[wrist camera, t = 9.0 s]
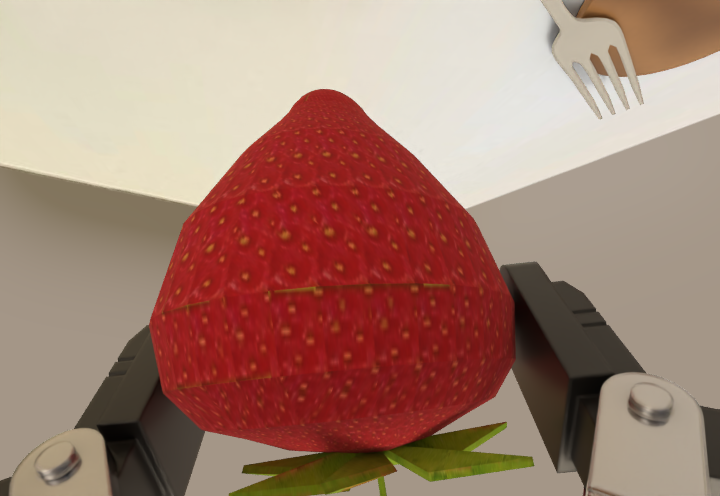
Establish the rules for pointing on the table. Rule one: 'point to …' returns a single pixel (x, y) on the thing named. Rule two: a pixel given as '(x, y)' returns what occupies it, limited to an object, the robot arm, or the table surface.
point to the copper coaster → (658, 32)
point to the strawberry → (336, 310)
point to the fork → (591, 38)
